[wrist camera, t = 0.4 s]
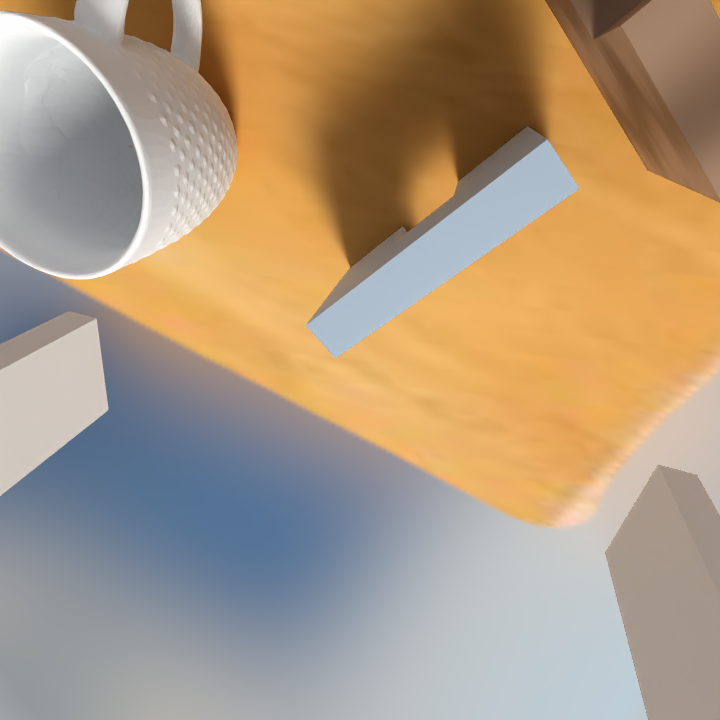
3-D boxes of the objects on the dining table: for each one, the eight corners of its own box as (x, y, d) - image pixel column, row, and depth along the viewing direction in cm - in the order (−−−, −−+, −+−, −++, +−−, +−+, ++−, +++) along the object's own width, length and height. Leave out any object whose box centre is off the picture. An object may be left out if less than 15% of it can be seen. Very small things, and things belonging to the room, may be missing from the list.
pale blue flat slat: (371, 293, 35) (335, 358, 26) (349, 267, 34) (305, 325, 26) (550, 160, 28) (579, 188, 20) (527, 125, 28) (547, 139, 19)
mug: (138, -70, 27) (-99, -185, 16) (311, 20, 28) (195, -31, 16) (105, 179, 35) (-72, 218, 24) (240, 248, 35) (128, 319, 24)
